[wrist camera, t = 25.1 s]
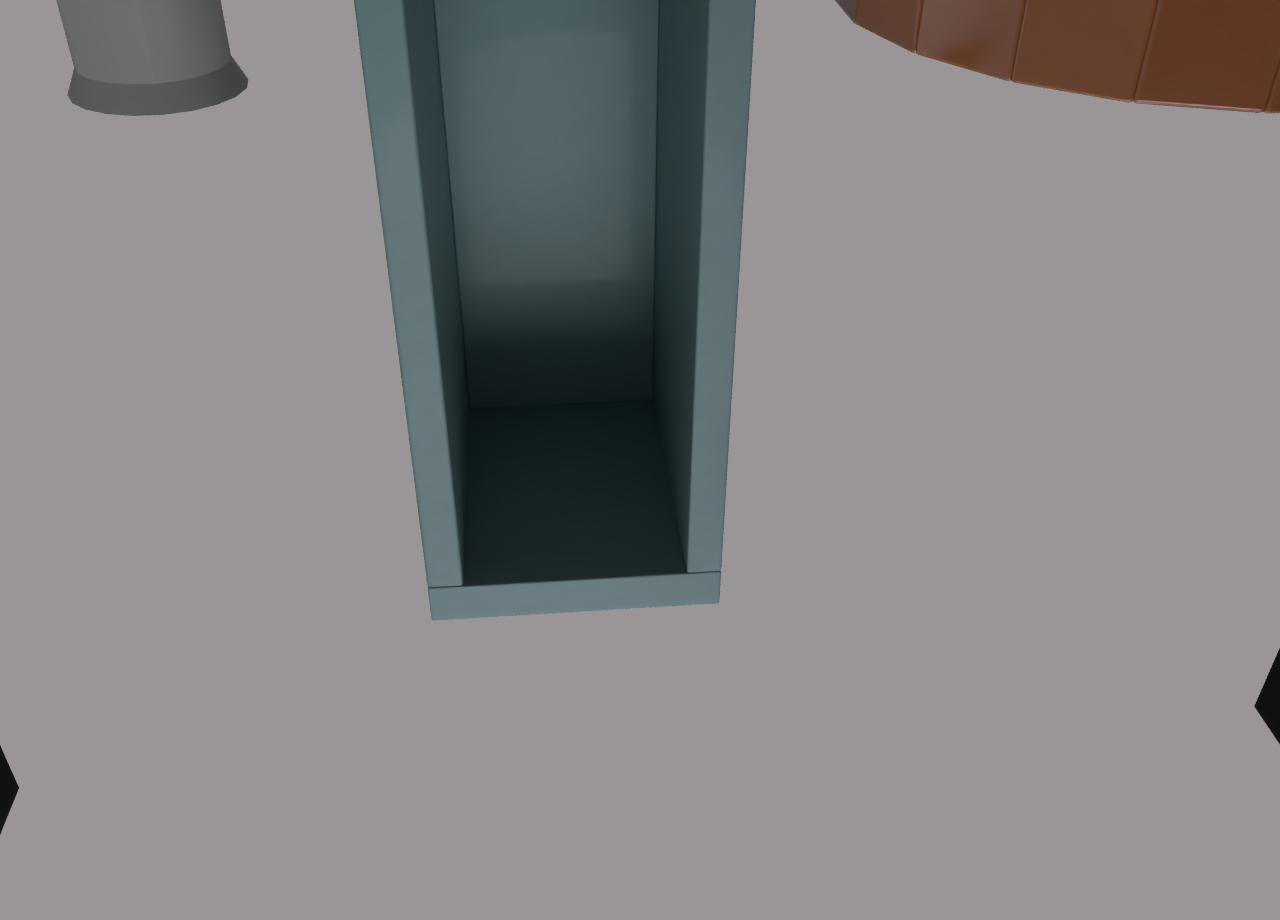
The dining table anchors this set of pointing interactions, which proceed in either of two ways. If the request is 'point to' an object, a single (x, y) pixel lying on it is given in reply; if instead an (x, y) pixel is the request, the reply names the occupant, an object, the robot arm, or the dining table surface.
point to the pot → (1100, 45)
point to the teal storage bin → (563, 289)
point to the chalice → (149, 55)
